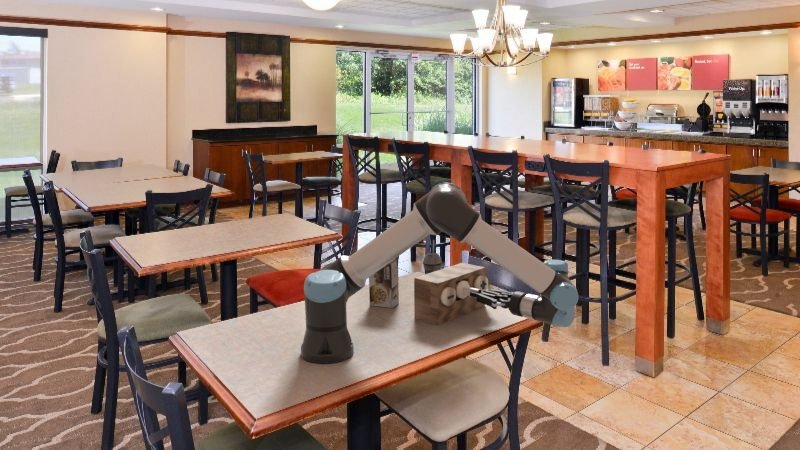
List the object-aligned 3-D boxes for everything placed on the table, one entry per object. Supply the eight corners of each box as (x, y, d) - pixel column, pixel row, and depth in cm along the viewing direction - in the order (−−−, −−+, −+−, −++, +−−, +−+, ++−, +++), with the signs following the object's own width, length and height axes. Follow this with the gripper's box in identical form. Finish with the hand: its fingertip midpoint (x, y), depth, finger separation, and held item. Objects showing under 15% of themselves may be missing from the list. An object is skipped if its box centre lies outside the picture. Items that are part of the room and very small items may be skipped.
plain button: (458, 300, 214) (458, 283, 213) (453, 299, 215) (453, 282, 214) (469, 296, 218) (469, 279, 217) (464, 295, 219) (464, 278, 218)
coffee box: (399, 303, 231) (398, 259, 228) (392, 308, 225) (391, 263, 222) (376, 300, 235) (375, 257, 231) (368, 305, 229) (367, 261, 226)
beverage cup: (419, 293, 242) (419, 241, 238) (427, 288, 248) (427, 237, 244) (437, 296, 238) (437, 243, 234) (445, 291, 244) (445, 239, 241)
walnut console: (443, 326, 207) (443, 284, 204) (414, 318, 215) (414, 277, 212) (490, 307, 225) (491, 268, 223) (462, 300, 234) (462, 262, 231)
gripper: (513, 322, 195) (452, 305, 211) (536, 311, 205) (476, 296, 221) (514, 298, 194) (452, 283, 210) (537, 288, 203) (476, 275, 219)
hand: (464, 290), depth 215 cm, fingers closed
